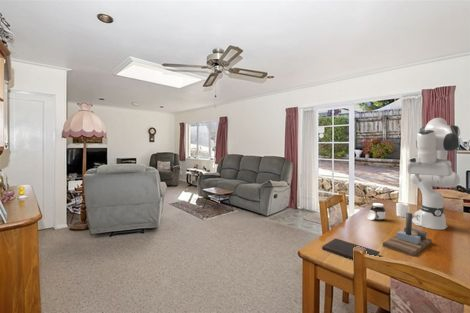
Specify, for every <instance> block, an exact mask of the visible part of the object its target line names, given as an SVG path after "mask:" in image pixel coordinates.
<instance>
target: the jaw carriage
mask: <svg viewBox="0 0 470 313" xmlns="http://www.w3.org/2000/svg"><path fill="white" fill-rule="evenodd" d="M412 218H413V213H411V212H408V213H406V217H405V228H406V232H404V231H403V230H402V231H401V230H398V231H397V232H396V236H397V239H401V240H404V241H408V242H411V243H415V244H419V243H420V239H421V236H417V235H413V234H411V232H412V229H413V227H412V226H413V222H412Z"/></svg>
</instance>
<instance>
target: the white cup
mask: <svg viewBox="0 0 470 313" xmlns="http://www.w3.org/2000/svg"><path fill="white" fill-rule="evenodd" d="M395 204H396V205H395V207H396V208H395V210H396V216H397V217H400V218H406V213H409V203H406V202H399V201H398V202H396V203H395Z"/></svg>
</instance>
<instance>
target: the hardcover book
mask: <svg viewBox="0 0 470 313" xmlns="http://www.w3.org/2000/svg"><path fill="white" fill-rule="evenodd" d="M356 246H360V247H363V248H365V249H366V251H367V254H369V255H374V256H378V257H379V256H380V253H381V252H380V251H379V250H375V249H373V248H368V247H365V246H361V245H359V244H356V243H352V242H348V241H345V240H342V239H339V238H333V239H331V240H330V241H329V242H327V243H325V244H323V245H322V246H321V250H323V251H326V252H329V253H331V254H334V255H336V256H339V257H342V258H345V259H348V258H349V259H348V260H351V259H352V260H351V261H353V248H354V247H356Z"/></svg>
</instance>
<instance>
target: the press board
mask: <svg viewBox="0 0 470 313" xmlns="http://www.w3.org/2000/svg"><path fill="white" fill-rule="evenodd" d="M412 230H413V231H416V232H418V236H421V239H420V243H419V244H415V243H411V242H408V241H404V240H401V239H397V235H395V236H392V237H391V238H389V239H387V240H385V241H384V242H382V247H383V248H387V249H389V250H393V251H396V252H398V253H402V254H405V255H407V256H408V255H409V256H411V257H414V256H416V255H418V253H420V252H421V251H423V250H424V249H425V248H427V247H428V246H429V245H431V243H432V239H430V238H427V233H428V232H426V231H423V230H420V229H419V230H418V229H415V228H412ZM403 232H406V227H404V229H403Z"/></svg>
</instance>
